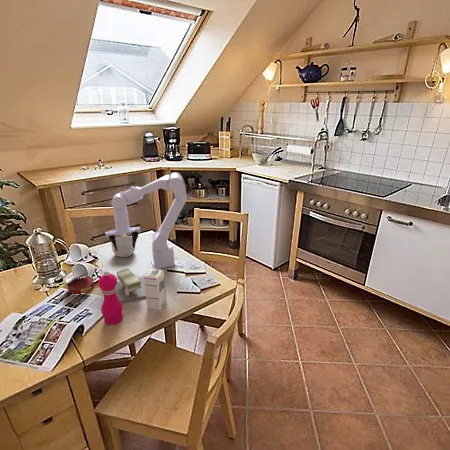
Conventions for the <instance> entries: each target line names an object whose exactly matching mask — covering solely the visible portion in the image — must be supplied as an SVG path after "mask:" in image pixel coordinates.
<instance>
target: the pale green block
mask: <svg viewBox="0 0 450 450" xmlns="http://www.w3.org/2000/svg"><path fill="white" fill-rule="evenodd" d="M116 278H117V281H118V282H121V283H122V284H123V286H124V287H125V288H126V289H127V290H128V292H131V291H133V290H136V289H139V288H141V282H140V280H139V279H138V278H139V277H137V276H136V275H135V273H134V272H133V271H132V270H130V268H125V269H121V270H118V271H116Z"/></svg>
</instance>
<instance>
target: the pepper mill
mask: <svg viewBox="0 0 450 450" xmlns="http://www.w3.org/2000/svg"><path fill="white" fill-rule="evenodd" d="M117 282H118V278H117V275H115V274H113V273H110V272H109V271H108V270H105V271H104V272H103V274H102V275H101V276H100V277H99V278H98V287H99V288H100V290H101V294H102V295H103V303H102V304H101V308H100V310H101V314H102V316H103V320H104V323H105V324H106V325H110V326H111V325H116V324H118V323H120V322H121V321H122V320H123V317H124V315H123V311H124V306H123V303H121V301H120V300H119V299H118V297H117V295H116V291H117V286H116V284H117Z"/></svg>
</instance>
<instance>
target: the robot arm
mask: <svg viewBox="0 0 450 450" xmlns="http://www.w3.org/2000/svg"><path fill="white" fill-rule="evenodd" d="M160 189H162V190H166V191H168V189H169V190H170V192H172V193H173V195H174V197H175V198H174V200H173V201H172V204H171V205H170V207H169V209H168V211H167V214H166V215H165V217H164V220H163V221H162V223H161V225H160V226H159V227H158V228H157V230H156V231H154V232H153V234H152V244H151V245H152V247H151V248H152V250H151V251H152V260H151V264H152V267H153V268H155V269H165V268H170V267H174V265H175V264H176V263H175V251H174V248H173V246H172V244H168V243H167V242H168V240H169V237H170V234H171V231H172V229H173V227H174V225H175V224H176V221H177V219H178V217H179V216H180V214H181V212H182V211H183V209H184V206H185V204H186V202H187V199H188V195H187V190H186V184H185V180H184V177H183V176H182V174H181V173H180V172H177V171H176V172H172V173H170V174H165V175H164V176H161V177H160V178H158V179H155V180H153V181H151V182H150V183H148V184H145V185H143V186H138V185H137V186H133V185H132V186H130V187H129V189H127V190H124V191H120V192H118V193H116V194H114V196H113V198H111V202H110V203H111V207H112V208H113V209H112V210H113V218H114V225H115V229H111V230H109V231H105V232H104V233H105V237H106V238H107V239H109V242H110V243H111V242H112V244H113V245H114V247H115V250H116V251H117V246H116V239H115V238H116V237H117V236H123V235H128V234H129V235H130V234H131V237H132V244H133V248H135V249H136V243H137V239H138V238H139V233H141V227H139V226H136V227H135V226H132V227H131V226H130V220H129V213H128V207H127V205H128V206H129V205H131V204H133V203H135V202H139V201H140V200H143V198H144V195H147V194H149V193H152V192H154V191H155V192H156V191H157V190H160ZM112 244H111V245H112Z"/></svg>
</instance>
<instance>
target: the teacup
mask: <svg viewBox="0 0 450 450" xmlns="http://www.w3.org/2000/svg"><path fill="white" fill-rule="evenodd" d="M115 239H116V246H117V251H116V250H115V247H114V245H113V244H112V242H111V241H110V244H111V248H112V252H113V254H114V255H115V256H117V257H119V258H127V257H129V256H131V255H132V254H133V253H134V252H135V250H136V247H135V248H133V244H132V235H131V236H130V235H127V234H124V235H120V236H116V237H115Z"/></svg>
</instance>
